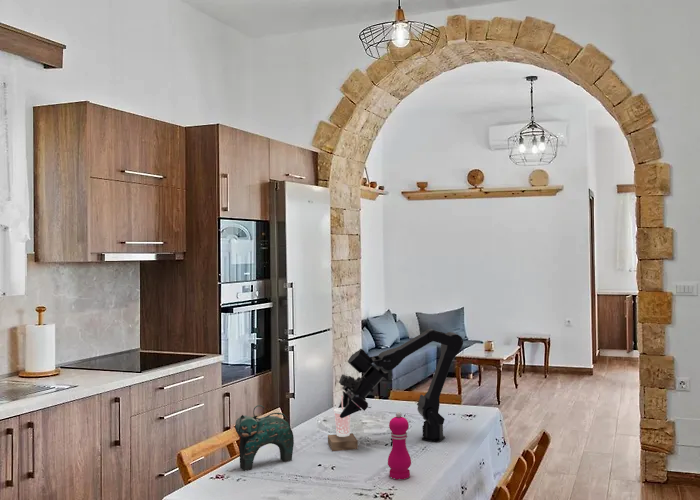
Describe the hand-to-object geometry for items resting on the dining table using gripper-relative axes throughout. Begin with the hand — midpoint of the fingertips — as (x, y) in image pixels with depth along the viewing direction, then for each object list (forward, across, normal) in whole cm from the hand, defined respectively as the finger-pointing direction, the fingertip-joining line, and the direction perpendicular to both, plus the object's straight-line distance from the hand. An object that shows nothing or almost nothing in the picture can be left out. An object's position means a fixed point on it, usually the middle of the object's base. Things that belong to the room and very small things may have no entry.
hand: (338, 414), depth 254 cm
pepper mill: (-1, +34, +17) cm, 38 cm away
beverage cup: (+4, 0, +6) cm, 7 cm away
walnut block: (+7, 0, +9) cm, 11 cm away
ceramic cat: (+27, +13, -11) cm, 32 cm away
